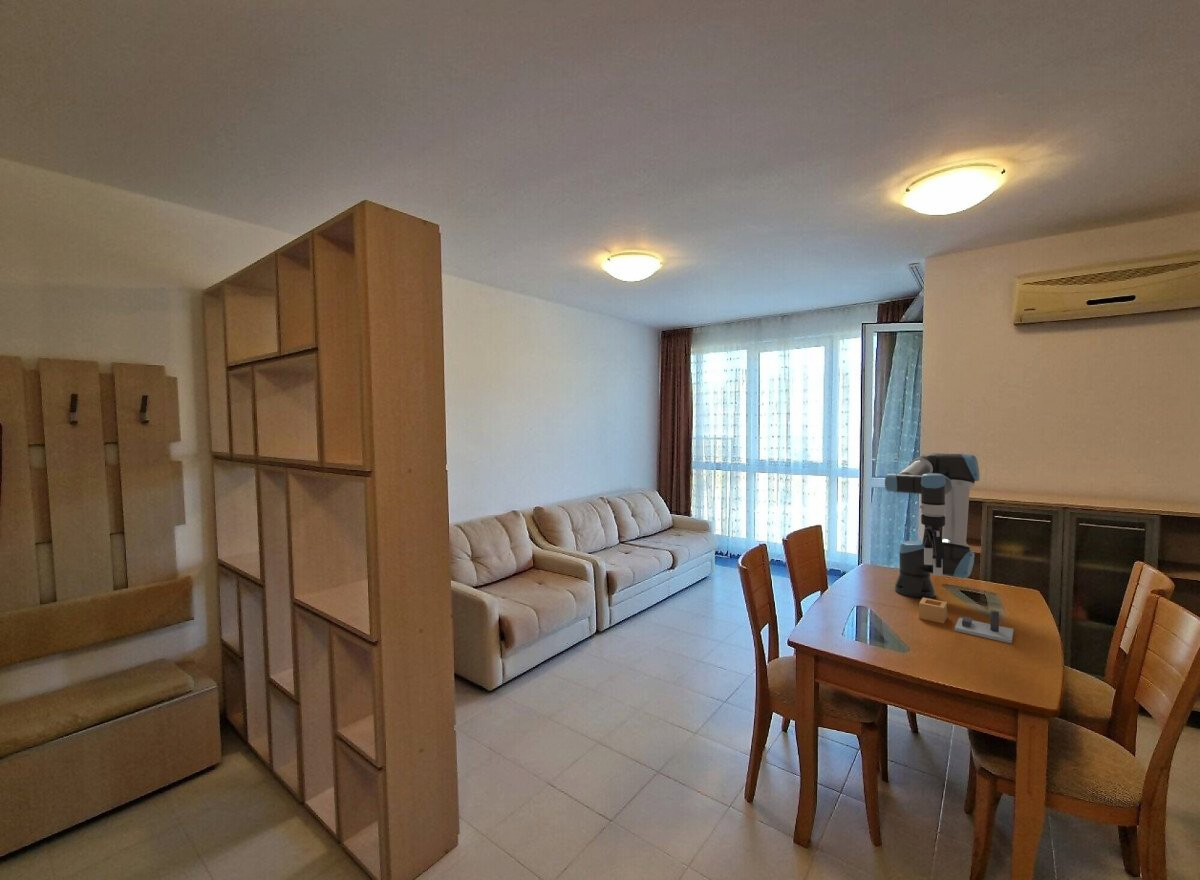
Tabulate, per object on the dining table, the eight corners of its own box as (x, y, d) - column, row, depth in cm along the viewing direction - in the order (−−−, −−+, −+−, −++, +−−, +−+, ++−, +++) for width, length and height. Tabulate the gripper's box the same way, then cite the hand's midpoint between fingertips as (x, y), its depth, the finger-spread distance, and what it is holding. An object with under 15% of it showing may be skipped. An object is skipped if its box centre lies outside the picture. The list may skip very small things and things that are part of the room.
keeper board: (959, 620, 188) (959, 599, 188) (1013, 632, 177) (1013, 609, 177) (954, 630, 179) (954, 608, 179) (1011, 643, 168) (1011, 620, 168)
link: (922, 612, 197) (922, 597, 196) (946, 617, 191) (947, 602, 191) (918, 618, 191) (919, 603, 191) (943, 623, 185) (943, 608, 185)
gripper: (913, 507, 197) (913, 559, 198) (929, 521, 174) (929, 579, 175) (935, 508, 194) (935, 561, 195) (955, 522, 171) (954, 581, 172)
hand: (932, 570), depth 185 cm, fingers open, 13 cm apart
